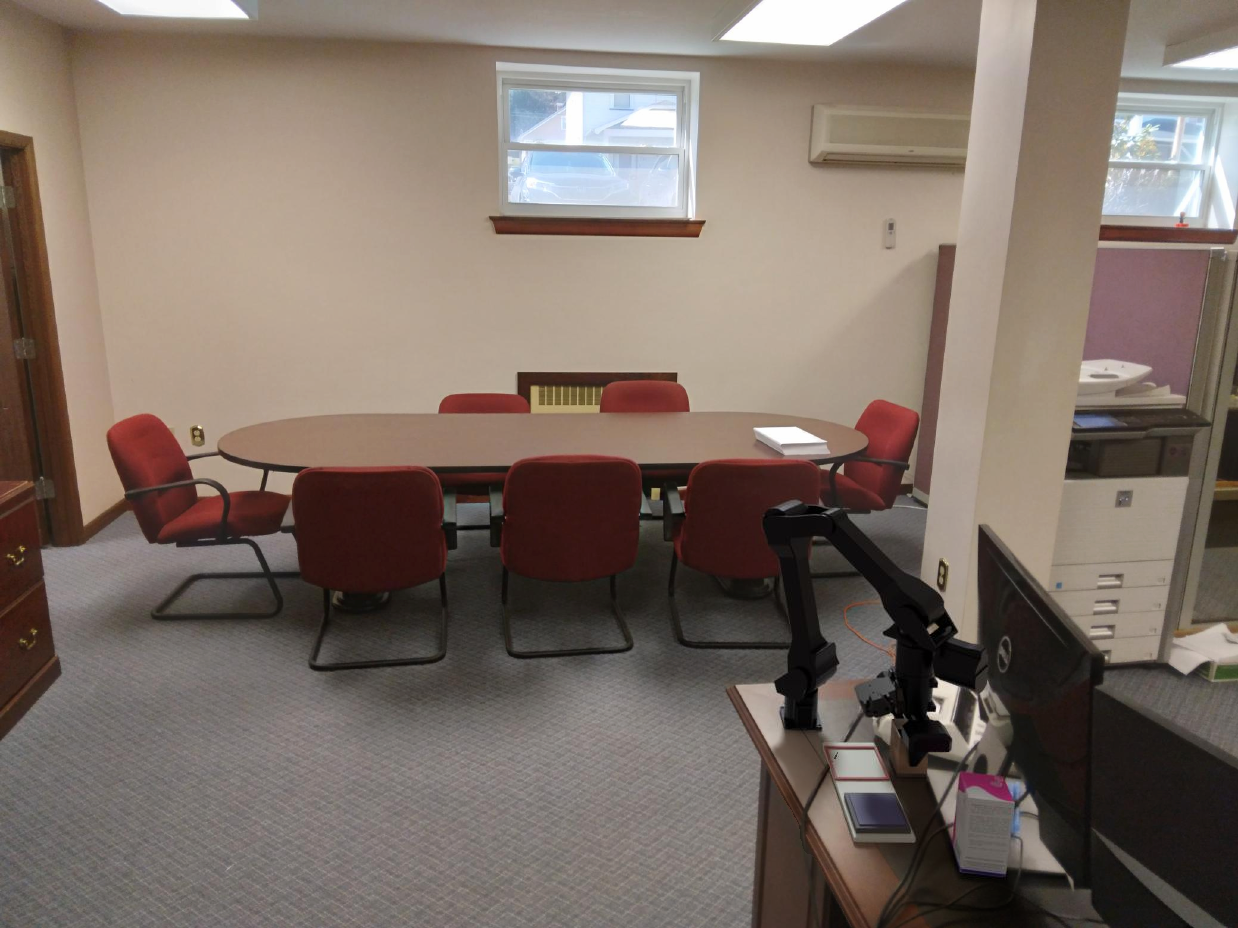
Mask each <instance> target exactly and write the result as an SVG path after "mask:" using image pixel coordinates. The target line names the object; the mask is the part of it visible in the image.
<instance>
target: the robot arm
mask: <svg viewBox="0 0 1238 928" xmlns="http://www.w3.org/2000/svg"><path fill="white" fill-rule="evenodd" d="M761 527H762V532H763V533H764V534H763V535H764V537H765V540H766V543H767V545H768V547H769V548H770V549H771V551H772V552H773V553H774V554H775V555H776V557H777V559H778V563H779V564H778V565H779V569H780V576H781V581H782V587H783V588H782V589H783V593H784V599H785V604H786V612H787V616H788V623H789V628H790V633H791V635H790V636H791V639H790V640H791V641H790V644H789V648H788V651H787V655H786V668H787V669H786V671H787V672H786V673H784V674H783V675H781V676H779V677H778V678H776V679H775V680H773V684H774V687H775V690H776V693H777V694H779V695H781V696H784V702H783V703H784V705H781V706H779V711H780V716H781V720H782V724H783V727H784V729H785V730H822V729H823V723H822V721H821V717H820V714H819V712H818V711H819V709H818V707H819V688H820V687H821V686H823V685H825V684H826V683H827V681H830V679H832V678H834V675H836V673H837V670H838V666H839V665H840V664H841V662H840V661H839V659H838V656H837V645H836V643H835V642H834V641H831V642H828V640H827V639H826V638H825V637H824V636H823V634H822V632H821V627H820V626H821V625H820V621H819V615H818V608H817V603H816V597H815V590H814V586H813V579H812V572H811V567H810V561H809V554H808V553H809V548H810V544H811V542H812V537H821V538H824V539H825V540H827V542H828V543H830V544H831V546H832V547H833V548H834V549H835V550H836V551H837V552H838V553H839V554H840V555H842V557H843V558H844V559H845V560H846V561H847V562H848V563H849V564H850V565H851V566H852V567H853V568H854V569H855V570H856V571H857V572H858V573H859V574H860V575H861V577H862V578H864V580H865V581H866V582H867V583H868V584H870V586H872V588H873V589H874V590H875V591H876V593H877V594H878V595H879V597H880V598H879V599H880V600H881V604H882V608H883V610H884V611H885V612H886V613H887V615H888V616H889V617H890V620H892V622H893V623H892V624H891V625H890V626H889V627H887V628H886V629H884V630H883V631H882V635H883V636H885V637H888V638H890V639H893V640H895V655H894V665H891V666H890V668H888V670H885V671H883V670H882V671H881V672H879V673H878V674H877V675H876V678H873V679H871V680H867V681H864V682H860V683H858V684H857V685H854V691H855V694H856V697H857V700H858V703H859V706H860V708H861V711H863V714H864V717H866V718H868V719H871V718H875V719H878V718H882V717H885V716H889V715H890V714H891V715H892V716H893V719H906V721H907V722H906V723H905V724H904V725H902V729H897V731H898V733H899V735H900V737H901V739H902V740H903V741H904V743H905V745H906V747H907V753H908V761H909V766H910V767H917V766H918V765H919V763H920V762H921V761H922V759H923V758H924V757H925V755H926V754H927V753H928V754H929V753H950V752H951V751H952V748H953V747H952V746H953V737H952V736H951V734H950V732H949V731H948V730H947V728H946V726H945V725H944V724H943V722H942V721H940V720H939V719H938V720H937V719H935V720H934V719H932V718H931V719H930V717H929V715H928V713H937V705H936V703H935V702H934V700H933V694H934V693H933V691H934V689H938V688H939V681H941V682H945V683H947V684H950V685H953V686H956V687H959V688H961V689H964V690H966V691H967V690H968V691H970V692H972V693H975V694H981V693H983V691H984V690H985V689H986V686H987V685H988V683H987V672H988V665H987V664H988V656H989V657H990V655H988V654H987V652H988V650H987V649H988V648H987V646H985V645H983V644H982V645H981V644H978V643H973V642H972V643H971V642H968V641H966V640H962V639H959V638H957V637H955V636H956V635H957V634H959V630H958V628H957V627H956V625H955V623H954V621H953V619H952V618H951V616H950V615H949V613H948V611H947V609H946V608H945V600H944V598H943V596H942V595H941V594H940V593H939V592H938V591H937V590H936V589H935V588H933V587H931V586H930V585H929V584H927V583H926V582H925V581H924V580H922V579H921V578H919V577H916V576H914V575H911V574H909V573H907V572H905V571H904V570H902V569H901V568H899V567H898V566H897V565H896V564H895V563H894V562H893V561H892V560H891V558H889V556H887V555H886V554H885V553H884V551H882V549H880V548H879V547H878V546H877V545H876V544H875V542H873V541H872V540H871V539H870V538H869V536H867V535H866V534H865V533H864V532H863V531H862V530H861V528H860V527H858V526H857V525H856V524H855V523H854V521H852V520H851V519H850V518H849V515H848V513H847V512H846V510H844V509H842V508H839V507H827V506H824V505H819V504H805V503H804V502H803V501H801V500H798V499H791V500H788V501H785V502H783V503H781V504H777V505H776V506H773V507H771V508H769V509H767V510H766V511H765V512H764V514H763V515H762V517H761ZM934 625H936V626H937V628H936V629H935V630H933V631H932V632H931V633H930V632H929V631H928V629H929V628H931V627H932V626H934ZM937 679H938V680H939V681H938V680H937Z"/></svg>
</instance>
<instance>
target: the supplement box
mask: <svg viewBox="0 0 1238 928" xmlns="http://www.w3.org/2000/svg"><path fill="white" fill-rule="evenodd" d="M956 793H957V794H956V803H955V811H954V819H953V828H952V835H951V836H952V837H951V845H952V849H953V853H954V856H955V860H956V863H957V867H958V870H959V872H960V873H966V874H974V875H975V874H976V875H984V876H991V877H998V878H1005V877H1006V876H1007V868H1008V867H1007V866H1008V861H1009V860H1008V859H1009V852H1010V846H1011V845H1010V844H1011V838H1012V829H1013V823H1014V822H1013V821H1014V812H1015V804H1016V803H1015V800H1014V797H1013V796H1012V793H1011V791H1010V789H1009V786H1008V784H1007V782H1006V780H1005V777H1004V776H1002V775H995V774H994V775H993V774H986V773H985V774H982V773H975V772H968V771H967V772H966V771H959V775H958V783H957V792H956Z"/></svg>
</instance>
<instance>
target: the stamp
mask: <svg viewBox="0 0 1238 928" xmlns="http://www.w3.org/2000/svg"><path fill="white" fill-rule="evenodd" d="M906 722H907V721H906V719H894V718H891V722H890V723H891V725H890V726H891V727H890V737H889V738H890V739H889V740H890V741H889V756H888V760H889V762H890V764H891V767H892V768H893V771H894V773H895V775H896V777H897V778H927V776H928V764H929V763H928V762H929V752H928V753H927V754H926V755H925V757H924V758H923V759H922V761H921V762H920V763H919V765H918V766H917V767H910V766H909V761H908V753H907V747H906V745H905V743H904V741H903V740H902V739H901V737H900V735H899V733H898V731H897V729H902V725H904V724H905V723H906Z"/></svg>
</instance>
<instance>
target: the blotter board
mask: <svg viewBox="0 0 1238 928" xmlns="http://www.w3.org/2000/svg"><path fill="white" fill-rule="evenodd" d="M821 747H822V750H823V753H824V756H825V759H826V762H827V765H828V764H829V765H830V769H829V772H830V774H831V777H832V781H833V783H834V786H835V789H836V792H837V795H838V798H839V801H840V804H841V808H842V811H843V813H844V816H845V819H846V822H847V826H848V828H849V832H850V834H851V838H852V841H853V843H908V844H909V843H912V844H913V843H916V840H917V837H916V835H915V833H914V830H913V828H912V827H911V824H910V822H909V819H908V817H907V815H906V813H905V811H904V808H903V806H902V804H901V800H900V799H899V797H898V795H897V793H896V792H897V791H896V789H895V788H894V786H893V783H892V781H891V777H890V775H889V772H888V770H887V768H886V766H885V763H884V761H883V758H882V757H881V755H880V752H879V749H878V748H877V745H876V744H875V742H822V745H821ZM837 752H838V754H837ZM836 754H837V757H836V759H834V757H835V755H836ZM832 761H833V762H832Z"/></svg>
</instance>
